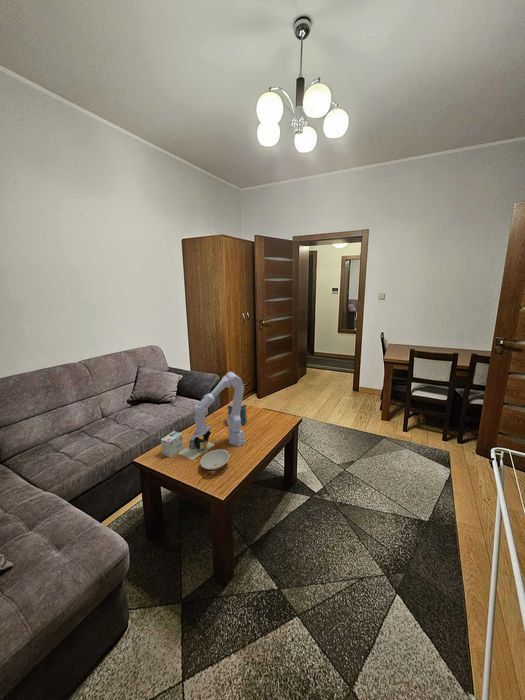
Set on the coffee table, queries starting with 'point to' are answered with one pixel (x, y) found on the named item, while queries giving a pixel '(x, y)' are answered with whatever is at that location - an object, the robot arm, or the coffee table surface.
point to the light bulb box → (172, 443)
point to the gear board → (194, 451)
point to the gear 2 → (203, 443)
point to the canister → (242, 412)
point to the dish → (214, 459)
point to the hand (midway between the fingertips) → (202, 445)
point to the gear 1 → (192, 445)
